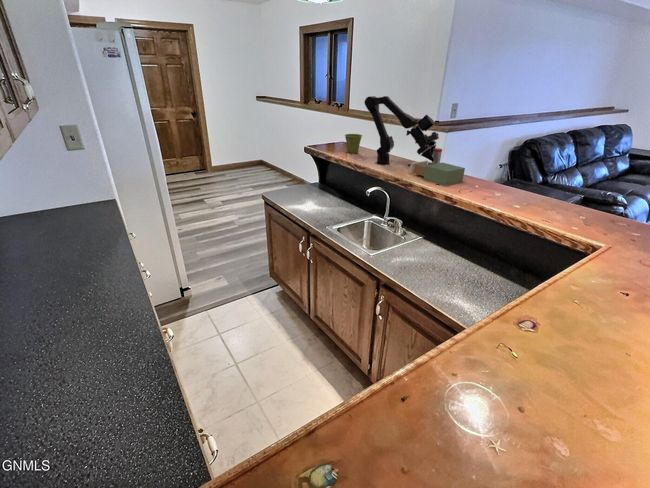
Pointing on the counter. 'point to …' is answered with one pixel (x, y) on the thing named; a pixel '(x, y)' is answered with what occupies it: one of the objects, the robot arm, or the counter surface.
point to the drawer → (419, 167)
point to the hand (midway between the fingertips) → (435, 159)
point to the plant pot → (353, 142)
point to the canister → (437, 155)
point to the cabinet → (444, 173)
